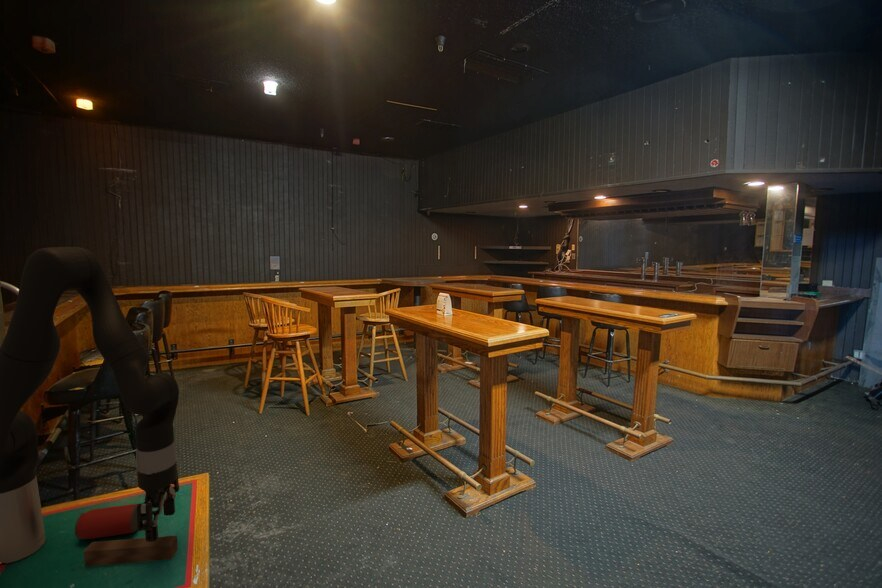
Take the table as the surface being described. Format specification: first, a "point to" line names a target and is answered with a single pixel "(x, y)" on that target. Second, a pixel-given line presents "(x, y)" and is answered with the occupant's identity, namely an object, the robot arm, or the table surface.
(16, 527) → the robot arm
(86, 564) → the walnut plank
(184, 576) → the table surface
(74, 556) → the table surface
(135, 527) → the beer can
